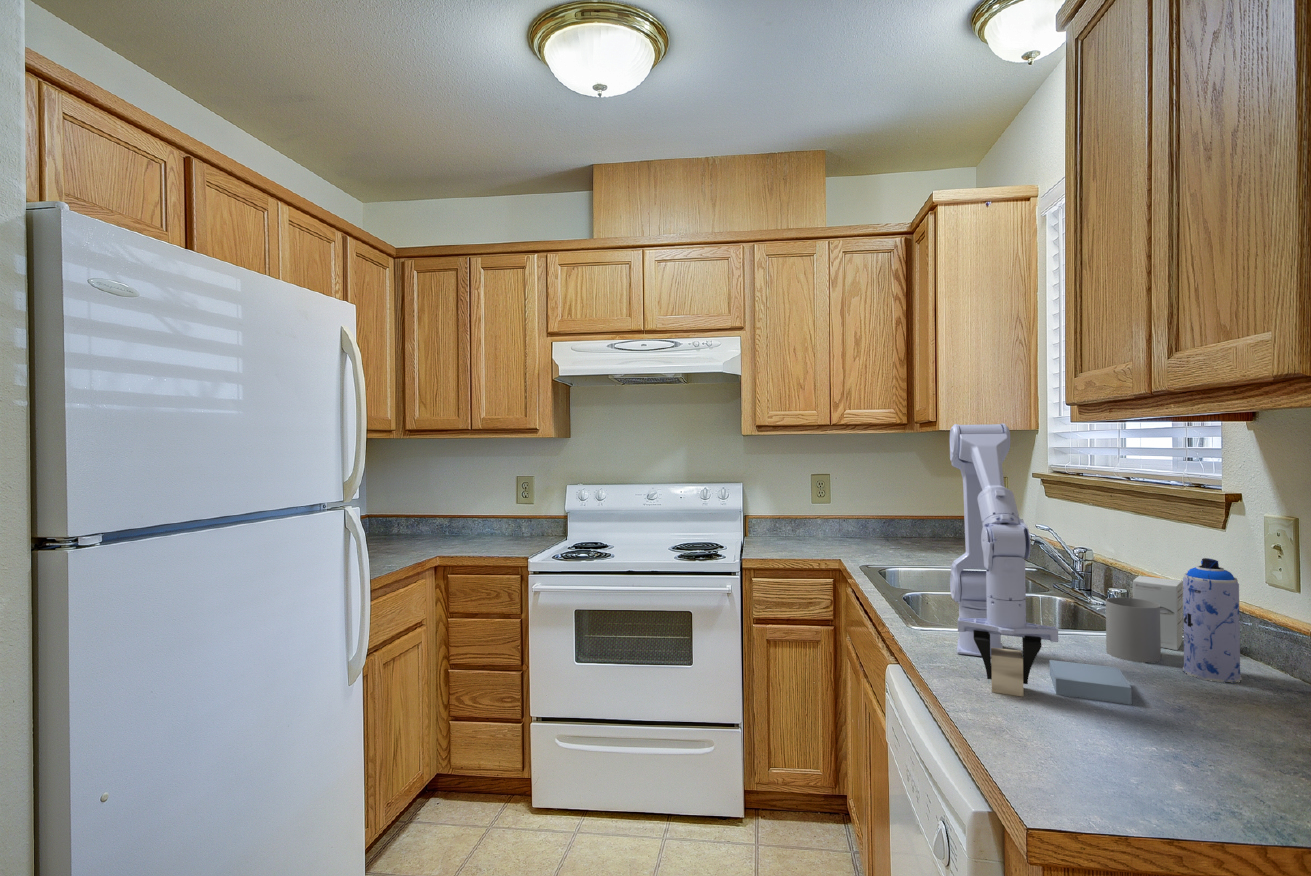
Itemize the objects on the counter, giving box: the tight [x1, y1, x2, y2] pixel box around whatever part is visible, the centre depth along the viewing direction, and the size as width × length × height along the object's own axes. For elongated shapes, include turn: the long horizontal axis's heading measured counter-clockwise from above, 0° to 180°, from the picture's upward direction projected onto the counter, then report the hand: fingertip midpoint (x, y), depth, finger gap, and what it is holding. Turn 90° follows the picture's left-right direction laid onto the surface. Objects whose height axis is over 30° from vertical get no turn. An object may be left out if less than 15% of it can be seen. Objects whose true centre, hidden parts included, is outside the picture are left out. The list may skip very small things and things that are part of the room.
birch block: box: [990, 647, 1024, 697], centre depth 109 cm, size 4×4×6 cm
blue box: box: [1048, 659, 1133, 706], centre depth 109 cm, size 10×10×3 cm
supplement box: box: [1132, 575, 1184, 651], centre depth 133 cm, size 7×7×13 cm
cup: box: [1105, 596, 1162, 663], centre depth 125 cm, size 8×8×10 cm
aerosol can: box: [1182, 557, 1243, 683], centre depth 115 cm, size 8×8×20 cm
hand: (1006, 679), depth 109 cm, fingers closed on birch block, 4 cm apart
